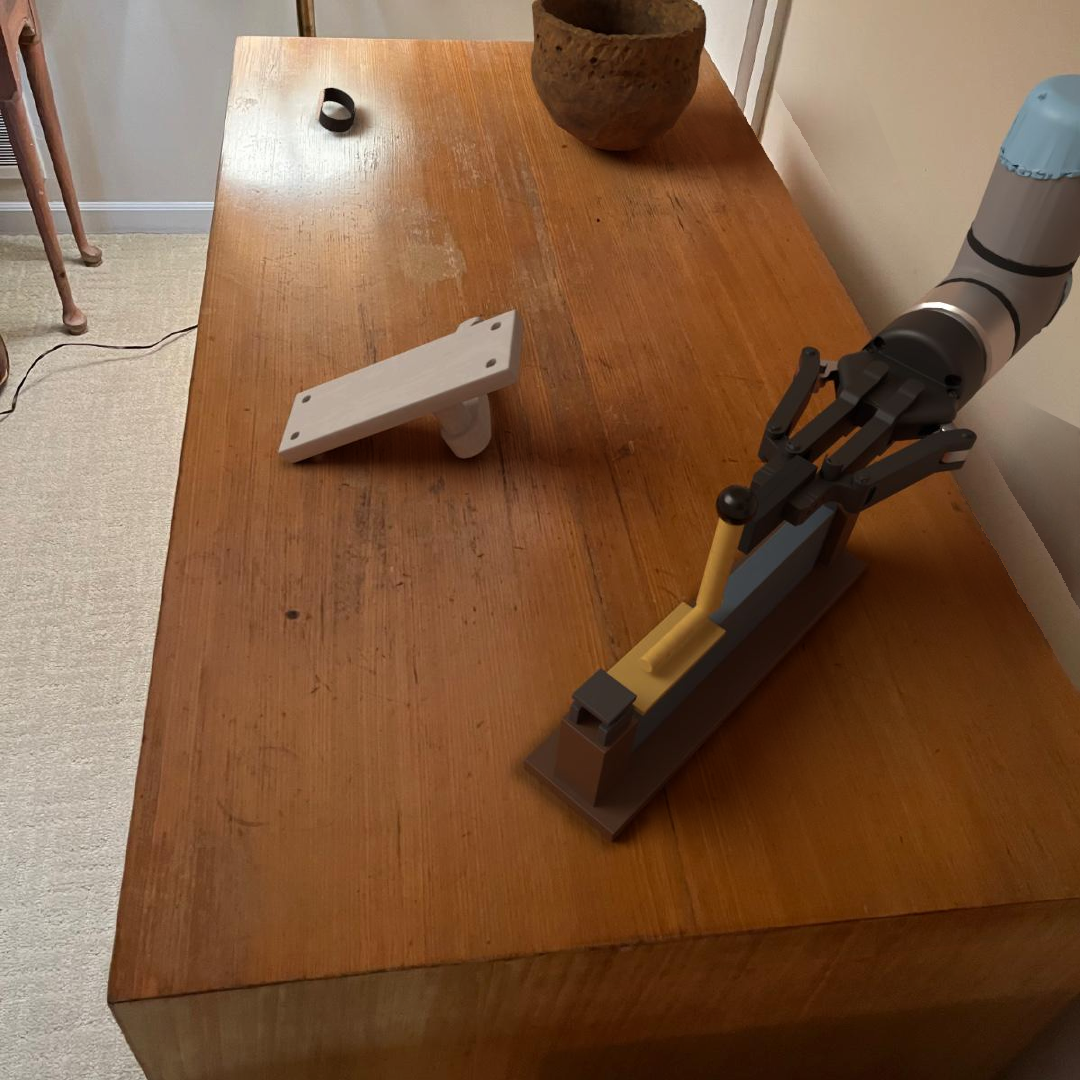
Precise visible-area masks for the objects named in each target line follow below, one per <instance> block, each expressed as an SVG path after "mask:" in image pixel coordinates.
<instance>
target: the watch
mask: <svg viewBox="0 0 1080 1080" xmlns="http://www.w3.org/2000/svg"><path fill="white" fill-rule="evenodd" d="M326 102H331V103H332V102H333V103H337V104H339V105H340V106H342V107H343V108H344V109H347V111H348V112H349V115H350V116H349V117H348V118H343V119H342V118H334V117H331V116H329V115H327V114H326V113H325V112H324V110H323V108H324V103H326ZM316 105H317V106H316V111H315V119H314V120H315V121H317V122H318V123H319V124H320V126H321V127H322V128H323V129H325V130H326V131H329V132H332V133H338V134H339V133H340V134H341V133H346V132H348V131H349V130H350V129H352V127H353V126H354V123H355V118H356V113H357V107H356V105H355V101H354V99H353V98H352V97H351V96H350V95H349V94H348V93H347V92H345V91H344V90H341V89H339V88H337V87H326V88H324V89H322V90H320V91H319V93H318V99H317V104H316Z"/></svg>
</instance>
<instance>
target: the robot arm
mask: <svg viewBox="0 0 1080 1080" xmlns="http://www.w3.org/2000/svg"><path fill="white" fill-rule="evenodd" d="M1079 258H1080V74H1079V73H1077V74H1076V73H1074V74H1073V73H1071V74H1070V73H1069V74H1068V73H1067V74H1058V75H1054V76H1051V77H1048V78H1046V79H1044V80H1041V81H1040V82H1038V83H1037V84H1036V85H1035V86H1033V87H1032V89H1031V90H1030V91H1029V92H1028V94H1027V95H1026V97H1025V99H1024V101H1023V103H1022V104H1021V107H1020V108H1019V110H1018V111H1017V113H1016V115H1015V117H1014V119H1013V121H1012V123H1011V125H1010V127H1009V129H1008V131H1007V133H1006V134H1005V137H1004V139H1003V141H1002V142H1001V146H1000V148H999V152H998V155H997V158H996V161H995V164H994V166H993V168H992V172H991V174H990V177H989V180H988V182H987V185H986V188H985V190H984V193H983V196H982V198H981V201H980V203H979V206H978V209H977V212H976V215H975V217H974V219H973V220H972V222H971V225H970V226H969V229H968V230H967V233H966V235H965V237H964V239H963V242H962V244H961V247H960V250H959V251H958V254H957V257H956V258H955V261H954V263H953V266H952V268H951V270H950V271H949V273H948V274H947V276H946V277H944V278H943V279H942V280H941V281H940V282H939V283H937V284H936V286H934V287H933V288H932V289H930V290H929V291H928V292H927V293H926V294H924V295H923V296H922V297H921V298H919V299H918V300H917V301H916V302H914V303H913V304H911V305H910V306H909V307H908V308H907V309H905V310H904V311H903V312H901V314H900V315H899V316H898V317H896V318H895V319H894V320H893V321H892V322H890V323H889V324H888V325H886V326H885V327H884V328H883V329H881V330H880V331H879V332H878V333H877V334H876V335H874V336H873V337H872V338H870V340H869V341H868V342H867V343H866V344H865V345H864V346H863V347H862V348H861V349H860V350H859V351H856V352H851V353H846V354H844V355H843V356H841V357H840V358H839V359H838V360H831V359H824V358H821V353H820V351H819V349H817V348H815V347H813V346H804V347H802V349H801V352H800V355H799V358H798V361H797V365H796V368H795V371H794V375H793V378H792V381H791V384H790V385H789V386H788V388H787V390H786V391H785V393H784V395H783V397H782V398H781V400H780V401H779V403H778V404H777V406H776V407H775V409H774V411H773V412H772V414H771V416H770V418H769V419H768V421H767V422H766V424H765V427H764V431H763V434H762V438H761V440H760V445H759V448H758V452H757V457H758V458H759V460H760V461H762V462H764V463H765V464H764V465H763V466H761V467H760V468H759V469H758V470H756V471H755V473H753V476H752V479H751V481H750V482H751V483H750V486H749V489H750V490H751V491H752V492H753V493H754V494H755V496H756V499H757V503H758V508H757V512H756V514H755V516H754V518H753V519H752V520H751V521H750V522H748V523H746V524H745V525H744V528H743V532H742V535H741V538H740V542H739V545H738V548H737V551H739V552H741V553H743V554H746V555H747V554H749V553H750V552H751V551H752V550H753V549H754V548H755V547H756V546H757V545H758V544H759V543H760V542H761V541H762V540H764V539H765V538H766V537H767V536H768V535H769V534H770V533H771V532H772V531H773V530H774V529H775V528H776V527H778V526H779V525H780V524H781V523H782V522H783V521H784V520H785V521H787V522H789V523H790V524H792V525H793V526H798V525H801V524H803V523H804V522H805V521H806V520H807V519H808V518H809V517H810V516H811V515H812V514H813V513H814V512H816V511H817V510H818V509H819V508H820V507H821V506H822V505H823V504H825V503H828V502H837V503H841V504H842V507H843V509H844V510H845V511H847V512H849V513H852V514H857V513H860V514H861V512H864V511H866V510H867V509H869V508H871V507H873V506H875V505H877V504H878V503H881V502H882V501H884V500H886V499H888V498H890V497H892V496H894V495H895V494H898V493H899V492H901V491H903V490H905V489H907V488H909V487H911V486H912V485H915V484H917V483H918V482H920V481H922V480H924V479H926V478H928V477H930V476H931V475H933V474H936V473H944V472H950V471H958V470H960V469H962V468H964V467H963V466H964V465H965V463H966V461H967V459H968V457H969V455H970V453H971V451H972V448H973V447H974V445H975V443H976V441H977V439H978V436H977V433H976V432H974V431H973V430H971V429H970V428H958V427H957V425H956V424H955V423H954V422H953V421H955V419H956V418H957V416H958V415H957V414H958V412H960V410H961V409H962V408H964V406H965V405H967V404H968V403H969V402H970V401H971V400H972V399H973V398H974V397H975V395H976V394H977V393H978V392H979V391H980V390H981V389H982V388H983V387H984V386H985V385H986V384H987V383H988V382H989V381H990V380H991V379H992V378H994V377H995V376H996V374H997V373H999V372H1000V371H1001V370H1002V369H1003V368H1004V367H1005V366H1006V364H1007V363H1008V362H1009V361H1010V360H1011V359H1012V358H1013V357H1015V355H1017V353H1019V351H1021V350H1022V349H1023V348H1024V347H1025V346H1026V345H1027V344H1028V343H1029V342H1030V341H1031V340H1032V339H1033V338H1034V337H1035V336H1037V335H1039V334H1040V333H1041V332H1042V330H1043V329H1044V328H1048V327H1049V325H1050V324H1051V323H1052V322H1053V320H1054V319H1055V318H1056V317H1057V315H1058V313H1059V311H1060V310H1061V308H1062V307H1063V306H1064V305H1065V303H1066V301H1067V300H1068V298H1069V295H1070V293H1071V290H1072V288H1073V281H1074V280H1073V278H1074V277H1073V269H1074V267H1075V266H1076V263H1077V261H1078V260H1079ZM828 382H833V389H834V396H835V400H833V401H832V402H831V403H830V404H829V405H828V406H827V407H825V408H823V410H822V411H821V412H819V413H818V414H817V415H816V416H815V417H813V418H812V419H811V420H810V421H809V422H808V423H806V424H805V425H804V426H803V427H801V429H800V430H798V431H797V432H796V433H795V434H794V435H792V433H793V431H794V429H795V428H796V426H797V425H798V423H799V421H800V420H801V417H802V416H803V414H804V412H805V411H806V409H807V407H808V406H809V404H810V401H811V399H812V395H814V394H818V393H819V391H820V389H822V388H824V387H826V385H827V383H828ZM857 428H859V429H858V430H857V431H856V432H855V433H854V434H853V435H852V436H851V437H849V438H848V439H847V440H846V441H845V443H843V444H842V445H841V446H840V447H839V448H838V449H837V450H835V452H833V453H832V454H831V455H830V456H829V454H828V453H826V452H827V451H828V450H829V449H830V448H832V447H833V446H834V445H835V444H836V443H837V442H838V441H839V440H840V439H841V438H843V437H844V438H847V437H848V436H849V435H850V434H851V433H853V432H854V431H855V430H856V429H857ZM791 435H792V437H791ZM915 440H917V441H915ZM905 441H915V442H913V443H911V444H909V445H907V446H905V447H902V448H901V449H899V450H896V451H895V452H892V453H891V454H889V455H887V456H884V457H883V458H881V459H879V460H877V461H875V462H873V461H874V460H875V459H876V458H877V457H881V456H882V455H884V454H885V453H886V452H887V450H889V449H890V448H891V447H892V446H893V445H894V444H895V443H896V442H905ZM824 453H826V454H825V455H824ZM822 455H824V458H823V460H822V463H821V466H820V469H819V466H818V465H816V464H814V463H815V462H816V461H817V460H818V459H819V458H820V457H822ZM828 456H829V457H828ZM870 463H871V464H870Z"/></svg>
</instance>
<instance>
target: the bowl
mask: <svg viewBox="0 0 1080 1080" xmlns="http://www.w3.org/2000/svg"><path fill="white" fill-rule="evenodd" d="M531 13H532V27H533V48H532V53H531V56H530V73H531V81H532V83H533V86H534V88H535V91H536V93H537V95H538V98H539V99H540V101H541V102H542V104H543V105H544V107H545V110H546V111H547V112H548V114H549V116H550V117H551V119H552V121H553V122H554V124H555V125H557V126H558V127H559V128H561V129H563V130H564V131H565V132H567V133H568V134H570V135H571V136H573V137H575V138H576V139H578V141H580V142H581V143H582V144H584V145H587V146H588V147H591V148H596V149H601V150H605V151H617V152H623V151H624V152H625V151H632V150H636V149H640V148H643V147H645V146H648V145H650V144H652V143H653V142H654V141H656V140H657V139H659V138H661V137H662V136H663V135H665V134H666V133H667V132H669V131H670V130H672V129H673V128H674V127H675V125H676V124H677V122H678V120H679V119H680V117H681V115H683V113H684V111H685V110H686V109H687V107H688V106H689V105H690V104H691V102H692V100H693V98H694V97H695V96H694V95H695V94H696V92H697V88H698V83H699V79H700V78H699V77H700V66H701V56H702V53H703V49H704V47H705V43H706V37H707V36H706V35H707V16H706V12H705V9H703V5H702V4H699V3H698V1H695V0H534V1H533V2H532V3H531Z"/></svg>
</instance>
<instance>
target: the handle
mask: <svg viewBox="0 0 1080 1080" xmlns="http://www.w3.org/2000/svg"><path fill="white" fill-rule="evenodd" d="M523 336H524V324H523V320H522V319H521V317H520V314H519V312H518V311H517V310H516V309H512V310H509V311H507V312H504V313H501V314H498V315H496V316H494V317H491V318H488V319H486V320H484V319H483V318H482V317H480V316H474V317H471V318H468V319H467V320H465V321H462V322H461V323H460V324H459V325H458V327H457V328H456V331H454V332H452V333H450V334H448V335H447V334H446V335H444V336H442V337H440V338H436V339H434V340H432V341H430V342H427V343H425V344H422V345H419V346H417V347H416V346H415V347H413V348H411V349H409V350H407V351H406V350H405V351H404V352H401V353H398V354H396V355H394V356H391V357H388V358H386V359H383V360H381V361H380V360H379V361H378V362H375V363H373V364H370V365H368V366H365V367H363V368H360V369H358V370H355V371H352V372H350V373H347V374H345V375H342V376H340V377H337V378H334V379H332V380H329V381H326V382H324V383H322V384H318V385H316V386H314V387H311V388H309V389H308V388H307V389H306V390H304V391H301V392H298V393H296V394H295V398H294V400H293V401H294V402H293V404H292V408H291V410H290V414H289V417H288V420H287V423H286V426H285V429H284V432H283V435H282V438H281V442H280V444H279V448H278V451H277V453H278V455H279V456H280V457H281V458H282V459H284V460H285V461H287V462H288V463H291V464H294V463H297V462H300V461H303V460H306V459H308V458H311V457H314V456H317V455H320V454H322V453H326V452H327V451H331V450H334V449H336V448H339V447H342V446H345V445H348V444H350V443H354V442H356V441H360V440H362V439H364V438H367V437H370V436H373V435H375V434H378V433H381V432H384V431H386V430H389V429H392V428H395V427H397V426H400V425H403V424H406V423H409V422H412V421H415V420H417V419H421V418H422V417H425V416H428V415H431V414H433V416H434V417H435V418H436V419H437V421H438V422H439V424H440V425H441V426H442V427H441V429H440V436H441V437H442V439H443V440H444V442H445V443H446V445H447V446H448V448H450V450H451V451H452V452H453V454H454V455H455V456H456V457H457V458H459V459H468V458H472V457H475V456H476V455H478V454H480V453H481V452H483V451H484V450H485V449H486V448H487V447H488V445H489V443H490V442H491V439H492V424H491V423H492V422H491V421H492V420H491V408H490V401H489V396H488V394H489V393H492V392H495V391H498V390H501V389H504V388H507V387H509V386H512V385H515V384H517V383H519V376H520V368H521V367H520V366H521V356H522V347H523V338H524V337H523Z"/></svg>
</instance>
